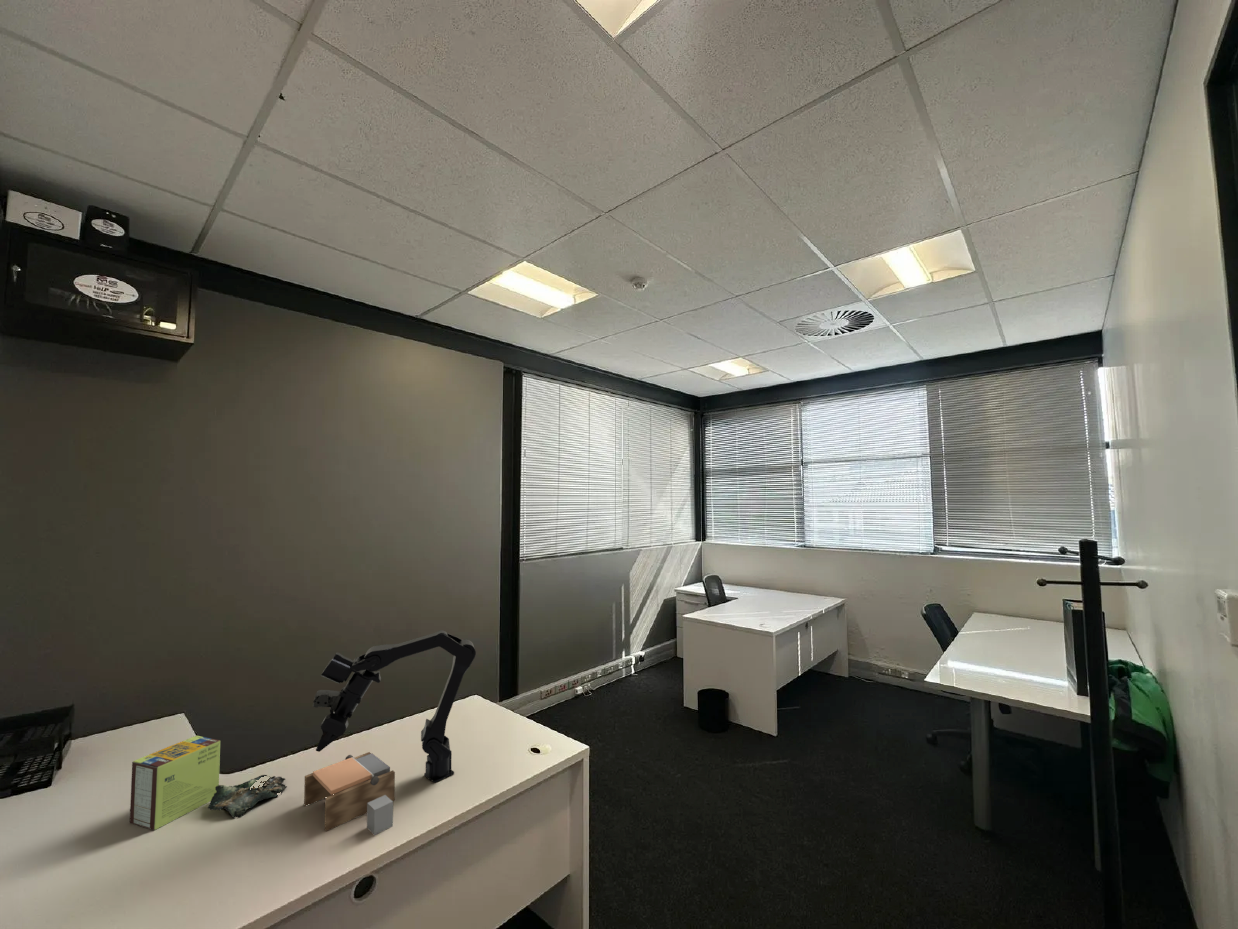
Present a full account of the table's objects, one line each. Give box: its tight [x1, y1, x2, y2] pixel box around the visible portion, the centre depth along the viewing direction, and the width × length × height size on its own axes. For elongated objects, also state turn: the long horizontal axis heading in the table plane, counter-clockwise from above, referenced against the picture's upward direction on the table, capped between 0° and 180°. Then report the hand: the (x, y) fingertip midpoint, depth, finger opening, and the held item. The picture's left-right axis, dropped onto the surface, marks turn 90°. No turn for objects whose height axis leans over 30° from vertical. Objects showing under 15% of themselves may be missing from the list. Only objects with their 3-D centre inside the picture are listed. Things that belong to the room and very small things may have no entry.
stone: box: [366, 795, 394, 836], centre depth 127 cm, size 4×4×6 cm
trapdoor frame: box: [303, 751, 396, 832], centre depth 138 cm, size 17×18×8 cm
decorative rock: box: [207, 774, 288, 819], centre depth 141 cm, size 19×6×15 cm
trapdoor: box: [312, 752, 391, 795], centre depth 139 cm, size 15×14×4 cm
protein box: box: [129, 735, 221, 831], centre depth 137 cm, size 10×15×16 cm
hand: (321, 743), depth 141 cm, fingers open, 9 cm apart
